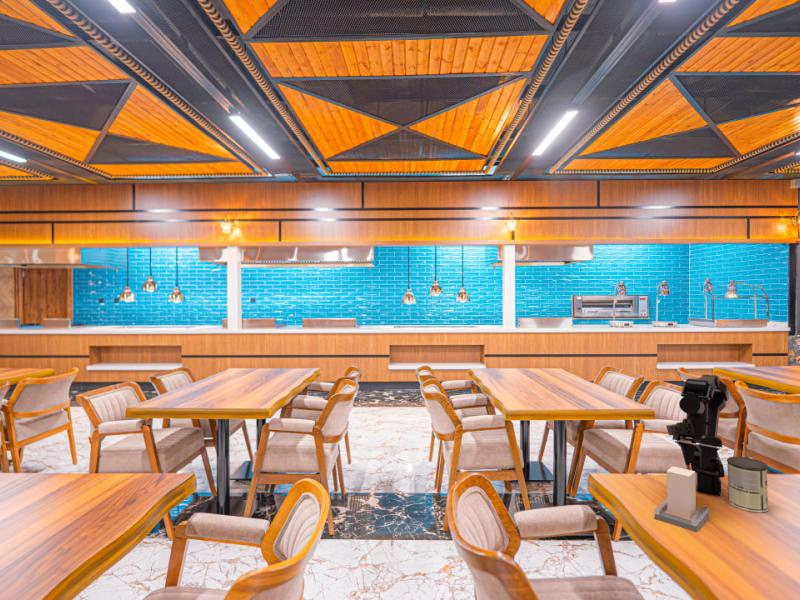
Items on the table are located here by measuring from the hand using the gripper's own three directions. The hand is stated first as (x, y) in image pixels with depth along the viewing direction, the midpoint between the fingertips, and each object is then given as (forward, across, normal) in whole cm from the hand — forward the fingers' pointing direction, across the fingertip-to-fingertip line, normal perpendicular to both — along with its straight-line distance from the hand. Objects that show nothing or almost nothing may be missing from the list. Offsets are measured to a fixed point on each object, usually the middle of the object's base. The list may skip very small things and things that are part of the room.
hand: (695, 466), depth 141 cm
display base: (+16, +4, -5) cm, 17 cm away
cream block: (+14, +5, -6) cm, 16 cm away
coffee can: (+9, -6, +19) cm, 22 cm away
